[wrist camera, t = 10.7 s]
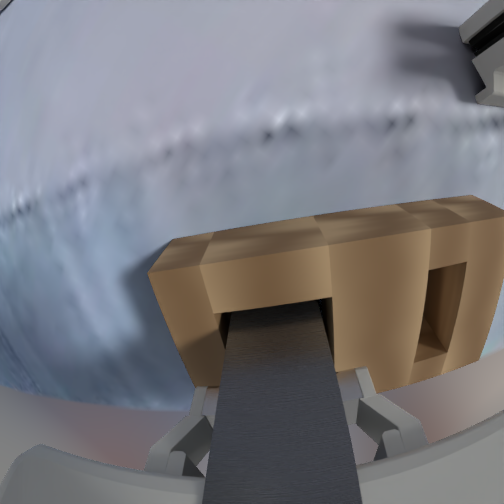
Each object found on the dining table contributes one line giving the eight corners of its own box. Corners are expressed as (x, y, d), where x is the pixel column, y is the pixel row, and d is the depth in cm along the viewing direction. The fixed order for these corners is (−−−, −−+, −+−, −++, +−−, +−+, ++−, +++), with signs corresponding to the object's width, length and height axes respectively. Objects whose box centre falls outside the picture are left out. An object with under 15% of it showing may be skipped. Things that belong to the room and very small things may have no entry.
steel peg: (249, 344, 17) (235, 543, 6) (235, 288, 16) (199, 523, 5) (315, 335, 17) (349, 534, 6) (310, 277, 15) (364, 513, 4)
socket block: (216, 370, 20) (208, 414, 16) (172, 239, 16) (147, 273, 12) (454, 326, 18) (478, 360, 14) (472, 194, 14) (513, 214, 10)
